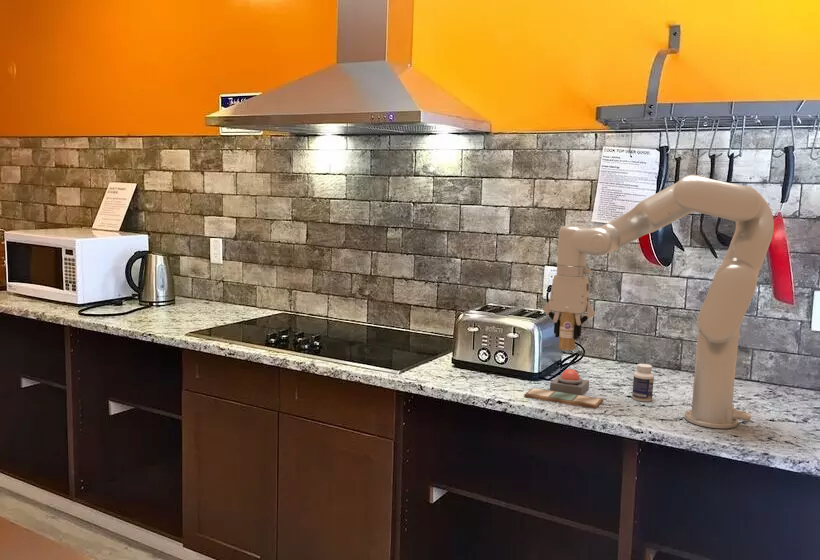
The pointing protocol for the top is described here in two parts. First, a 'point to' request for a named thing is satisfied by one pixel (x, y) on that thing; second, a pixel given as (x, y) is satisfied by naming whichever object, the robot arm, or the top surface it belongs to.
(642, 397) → the pill bottle
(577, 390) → the button housing
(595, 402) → the board
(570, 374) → the dome button
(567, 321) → the sprinkles bottle
